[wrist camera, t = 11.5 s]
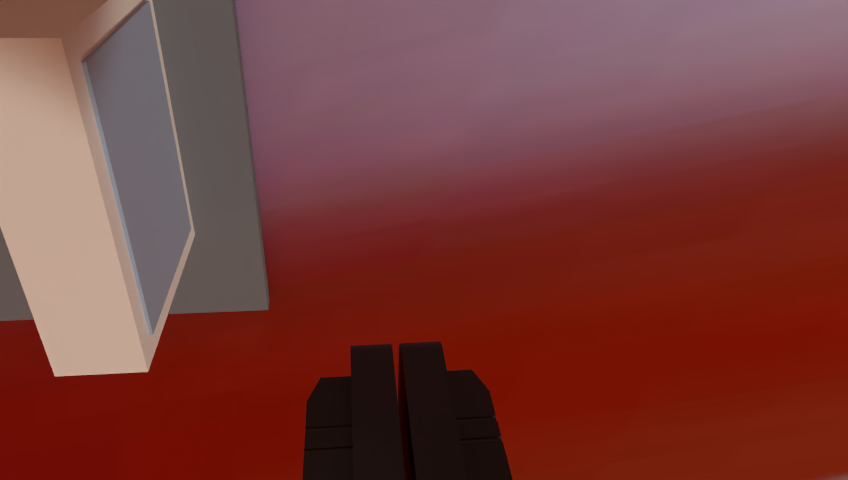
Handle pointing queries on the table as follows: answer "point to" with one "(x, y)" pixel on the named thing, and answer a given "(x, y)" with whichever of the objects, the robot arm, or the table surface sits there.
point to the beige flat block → (91, 179)
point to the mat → (201, 165)
